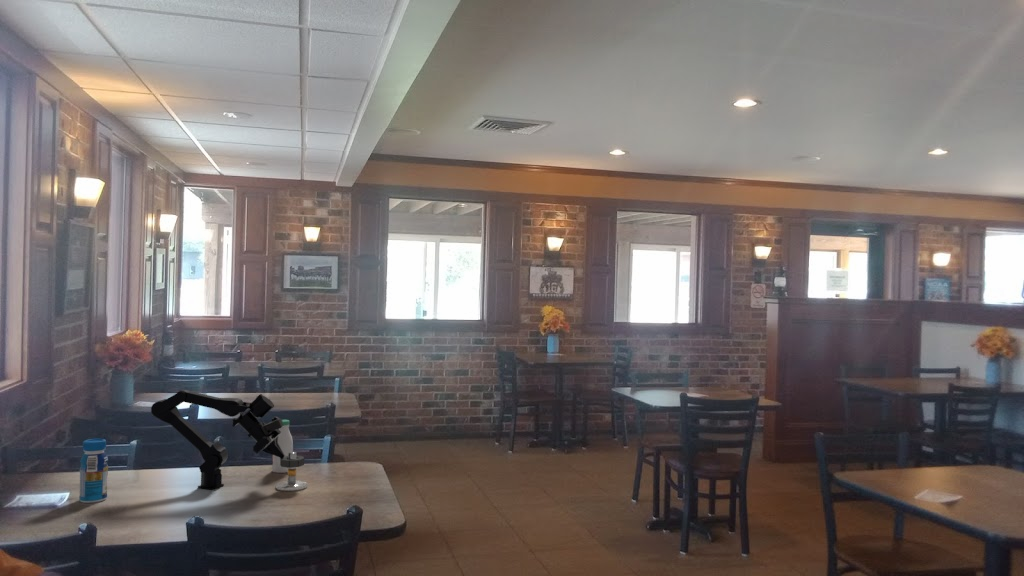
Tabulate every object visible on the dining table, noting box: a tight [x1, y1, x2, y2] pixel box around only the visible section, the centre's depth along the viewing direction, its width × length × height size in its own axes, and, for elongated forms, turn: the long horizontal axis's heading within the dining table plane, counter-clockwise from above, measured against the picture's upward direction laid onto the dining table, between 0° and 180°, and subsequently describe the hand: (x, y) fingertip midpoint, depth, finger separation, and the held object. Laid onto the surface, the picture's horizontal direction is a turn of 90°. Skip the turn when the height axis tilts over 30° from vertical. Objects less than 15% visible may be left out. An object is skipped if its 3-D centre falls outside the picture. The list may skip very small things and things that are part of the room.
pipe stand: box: [275, 451, 308, 492], centre depth 270 cm, size 11×11×12 cm
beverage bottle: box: [78, 438, 109, 504], centre depth 249 cm, size 8×8×20 cm
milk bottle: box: [271, 419, 294, 474], centre depth 293 cm, size 8×8×20 cm
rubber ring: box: [280, 454, 305, 468], centre depth 270 cm, size 8×8×2 cm
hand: (283, 457), depth 270 cm, fingers closed, pressing on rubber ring
